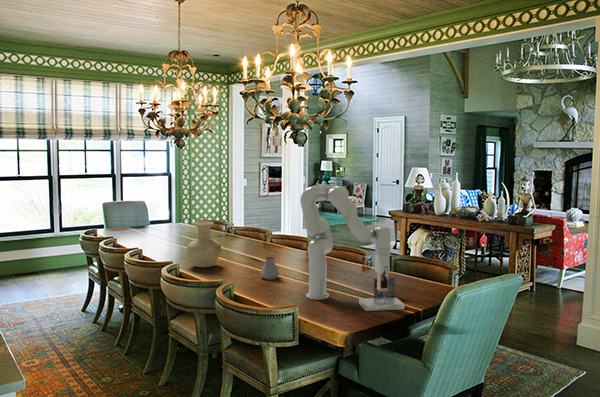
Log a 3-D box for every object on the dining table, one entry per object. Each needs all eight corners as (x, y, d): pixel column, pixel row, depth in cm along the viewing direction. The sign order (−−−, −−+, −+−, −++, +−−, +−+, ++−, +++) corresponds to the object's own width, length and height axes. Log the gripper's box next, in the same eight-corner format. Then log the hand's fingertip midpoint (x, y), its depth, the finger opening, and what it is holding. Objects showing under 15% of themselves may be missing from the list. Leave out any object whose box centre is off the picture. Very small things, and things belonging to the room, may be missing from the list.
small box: (386, 293, 272) (386, 275, 271) (395, 296, 267) (395, 277, 266) (373, 297, 265) (373, 278, 264) (382, 300, 260) (382, 280, 259)
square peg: (377, 289, 250) (377, 271, 249) (385, 288, 251) (385, 271, 250) (379, 291, 246) (379, 273, 245) (388, 290, 246) (388, 273, 246)
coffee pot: (271, 274, 312) (271, 251, 311) (282, 278, 303) (283, 254, 302) (243, 280, 298) (243, 256, 297) (254, 284, 290) (254, 259, 288)
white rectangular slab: (359, 303, 254) (359, 298, 253) (396, 302, 257) (396, 297, 257) (365, 310, 242) (365, 305, 242) (404, 309, 245) (404, 304, 245)
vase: (221, 269, 324) (220, 225, 321) (186, 270, 321) (185, 225, 318) (221, 262, 346) (220, 220, 343) (188, 263, 343) (188, 220, 340)
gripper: (370, 248, 254) (370, 282, 256) (380, 254, 238) (380, 291, 239) (384, 247, 256) (384, 282, 257) (395, 254, 239) (395, 290, 240)
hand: (382, 286), depth 248 cm, fingers closed on square peg, 4 cm apart
